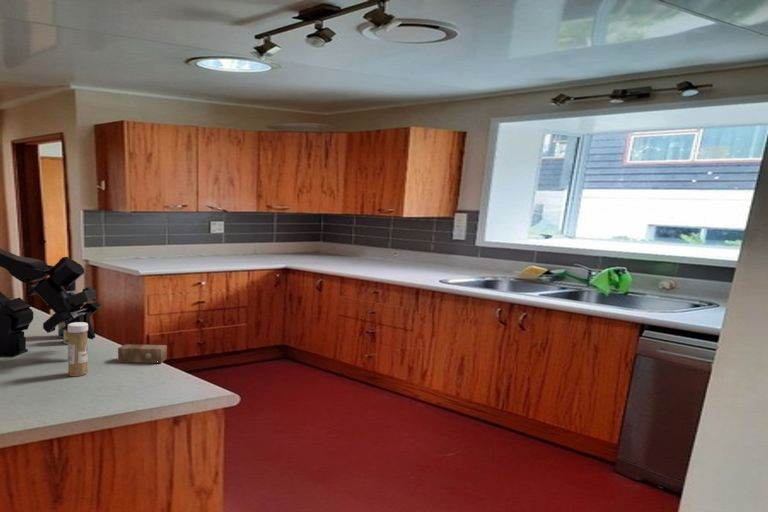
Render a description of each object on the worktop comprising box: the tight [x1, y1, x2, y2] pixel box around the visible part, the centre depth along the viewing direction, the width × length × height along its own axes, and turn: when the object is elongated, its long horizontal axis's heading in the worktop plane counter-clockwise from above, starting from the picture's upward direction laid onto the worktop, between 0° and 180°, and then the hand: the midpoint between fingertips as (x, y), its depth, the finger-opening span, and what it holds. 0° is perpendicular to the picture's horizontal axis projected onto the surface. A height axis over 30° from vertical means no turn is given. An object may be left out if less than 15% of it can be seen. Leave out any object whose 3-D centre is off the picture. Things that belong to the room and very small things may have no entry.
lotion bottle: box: [57, 280, 80, 339], centre depth 162 cm, size 6×6×20 cm
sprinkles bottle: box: [67, 322, 89, 377], centre depth 130 cm, size 5×5×13 cm
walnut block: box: [117, 344, 168, 364], centre depth 144 cm, size 4×4×12 cm
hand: (93, 338), depth 143 cm, fingers closed
